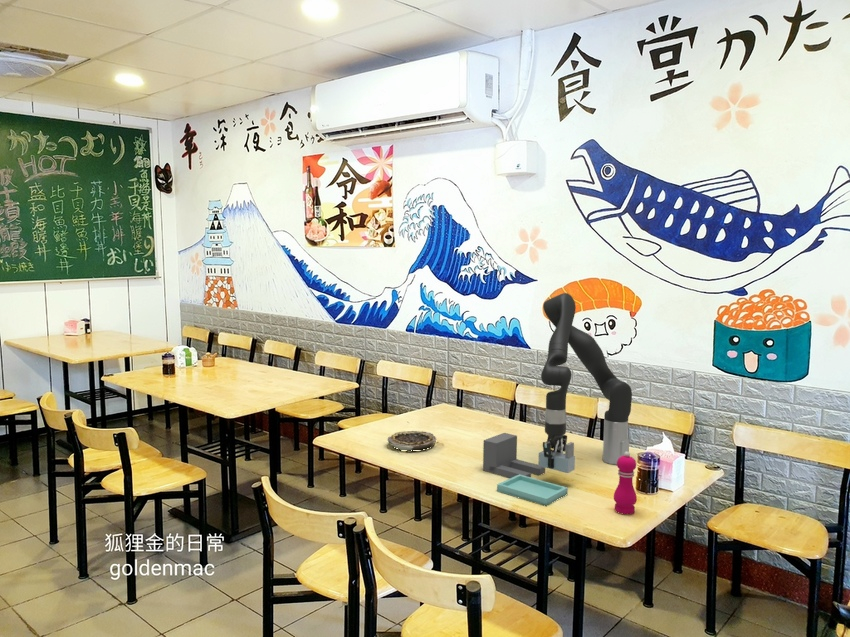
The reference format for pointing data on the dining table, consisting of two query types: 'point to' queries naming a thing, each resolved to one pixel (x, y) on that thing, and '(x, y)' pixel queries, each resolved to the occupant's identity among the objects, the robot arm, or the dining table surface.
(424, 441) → the pie
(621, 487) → the pepper mill
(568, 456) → the grey block with peg
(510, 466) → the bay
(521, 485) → the tray
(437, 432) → the dining table surface
